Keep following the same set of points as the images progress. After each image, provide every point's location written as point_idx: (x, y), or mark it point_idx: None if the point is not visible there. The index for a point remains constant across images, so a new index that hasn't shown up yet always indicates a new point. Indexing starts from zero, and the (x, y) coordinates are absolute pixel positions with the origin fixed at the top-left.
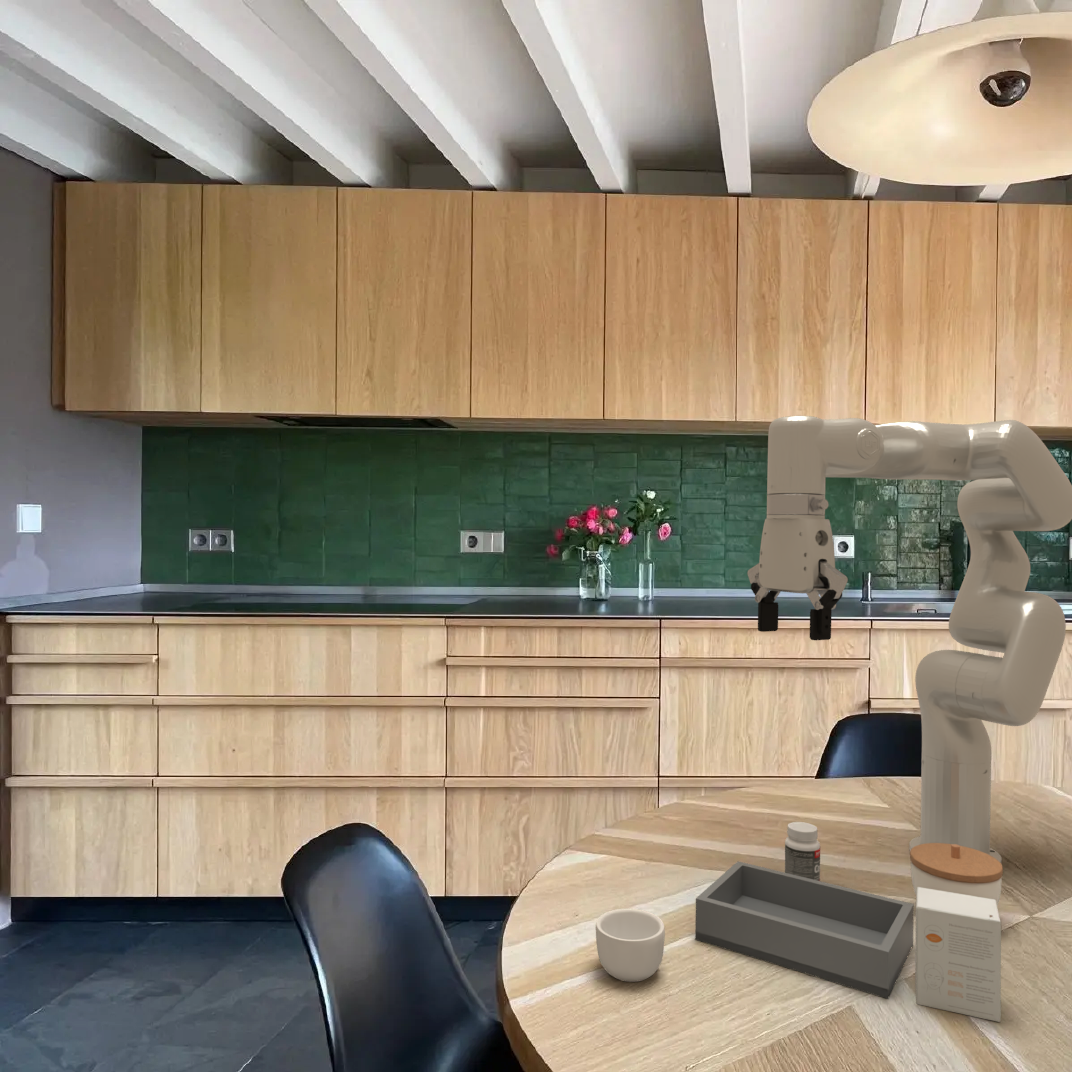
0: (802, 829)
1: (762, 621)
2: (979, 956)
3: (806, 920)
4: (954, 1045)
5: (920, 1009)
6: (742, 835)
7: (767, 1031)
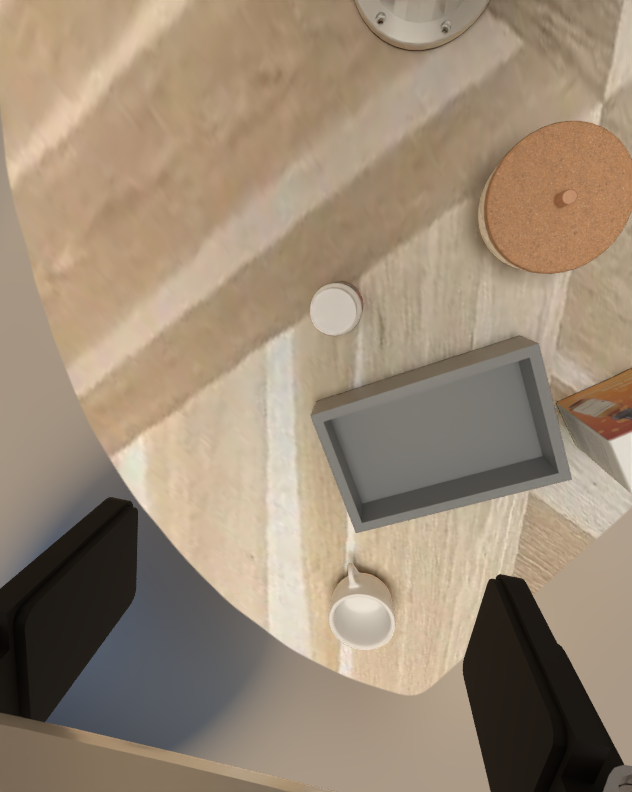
0: (341, 323)
1: (106, 632)
2: None
3: (415, 403)
4: None
5: None
6: (169, 223)
7: (499, 573)
